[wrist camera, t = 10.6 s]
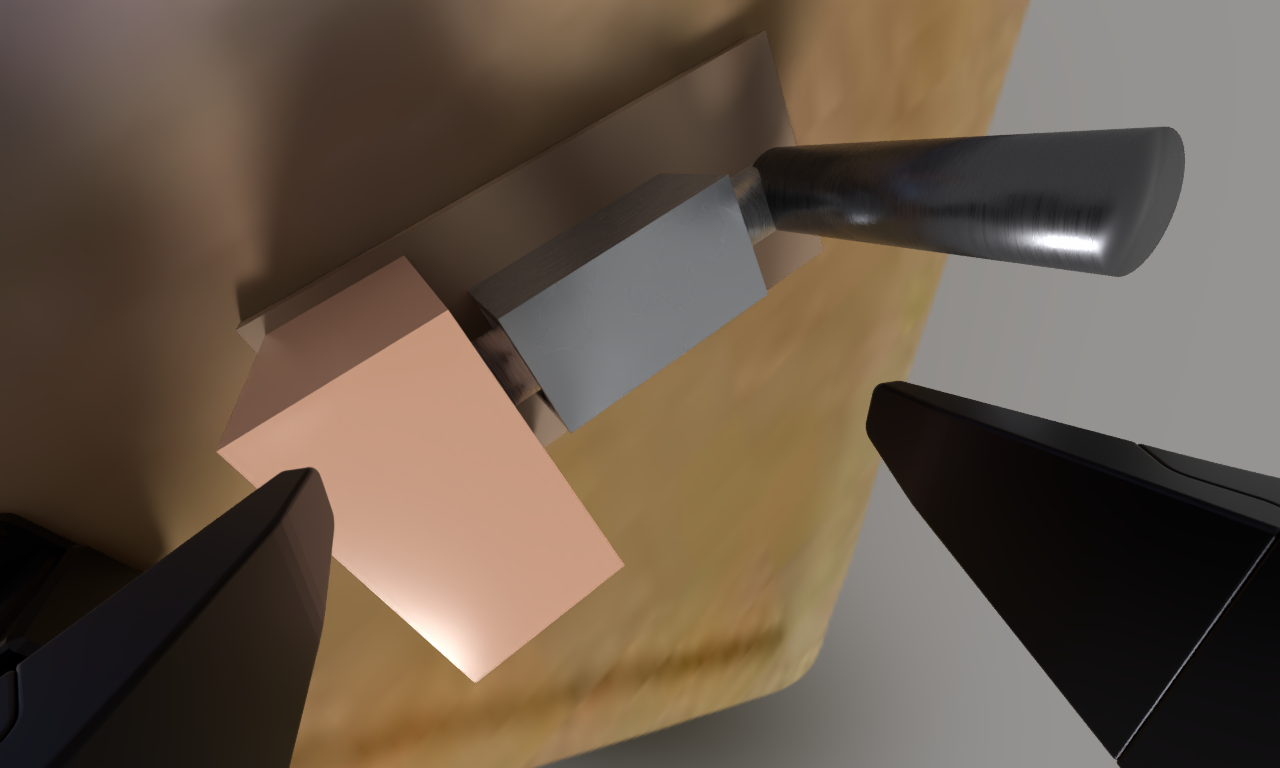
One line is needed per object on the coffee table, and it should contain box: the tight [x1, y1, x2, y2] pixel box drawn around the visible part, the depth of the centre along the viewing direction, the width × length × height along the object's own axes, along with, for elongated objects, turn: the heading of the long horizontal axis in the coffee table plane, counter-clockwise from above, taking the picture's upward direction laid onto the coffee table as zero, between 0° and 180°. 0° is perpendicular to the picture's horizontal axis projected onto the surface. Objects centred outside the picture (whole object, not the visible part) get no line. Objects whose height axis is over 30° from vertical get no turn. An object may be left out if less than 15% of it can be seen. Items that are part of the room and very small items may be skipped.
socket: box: [216, 256, 624, 683], centre depth 15 cm, size 4×8×8 cm, turn 26°
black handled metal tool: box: [471, 127, 1185, 406], centre depth 15 cm, size 16×3×12 cm, turn 116°
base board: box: [235, 30, 823, 448], centre depth 21 cm, size 20×9×1 cm, turn 116°
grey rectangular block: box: [467, 173, 768, 433], centre depth 18 cm, size 8×4×4 cm, turn 116°
